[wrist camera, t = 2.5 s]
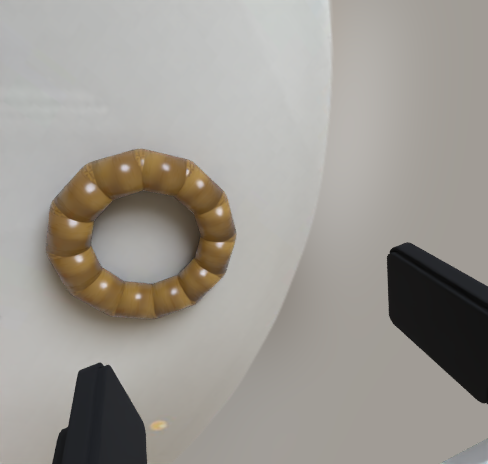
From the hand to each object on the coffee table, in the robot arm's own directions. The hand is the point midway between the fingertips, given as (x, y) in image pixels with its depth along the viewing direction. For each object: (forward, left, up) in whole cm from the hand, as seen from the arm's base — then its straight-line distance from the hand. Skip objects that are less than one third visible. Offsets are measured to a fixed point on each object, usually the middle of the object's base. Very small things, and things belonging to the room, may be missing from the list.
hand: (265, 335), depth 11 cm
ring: (+3, 0, -9) cm, 10 cm away
